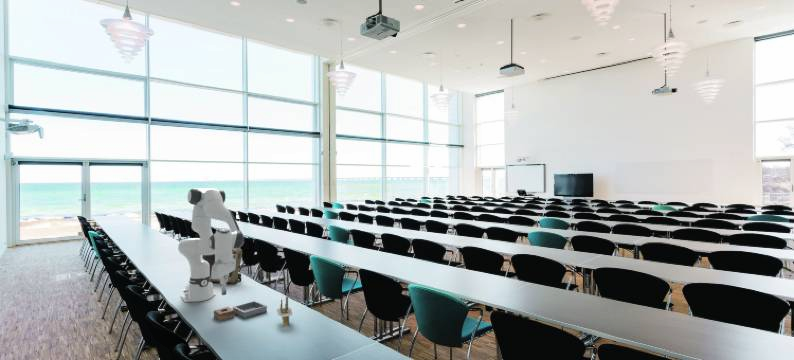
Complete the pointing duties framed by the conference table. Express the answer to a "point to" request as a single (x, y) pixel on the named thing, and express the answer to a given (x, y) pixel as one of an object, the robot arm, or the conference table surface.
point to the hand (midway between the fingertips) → (223, 282)
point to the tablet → (233, 275)
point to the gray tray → (250, 309)
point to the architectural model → (285, 313)
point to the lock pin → (224, 287)
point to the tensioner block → (224, 313)
